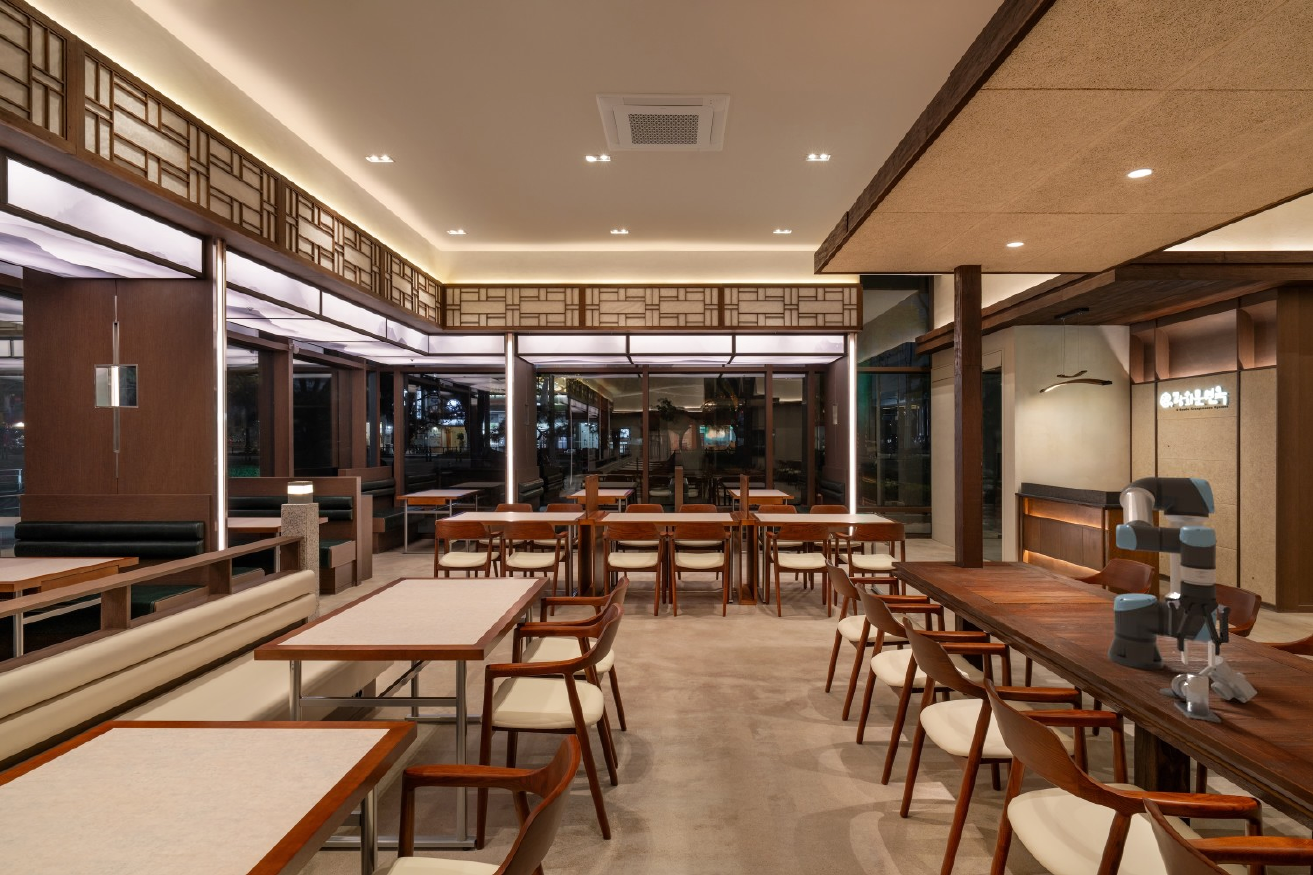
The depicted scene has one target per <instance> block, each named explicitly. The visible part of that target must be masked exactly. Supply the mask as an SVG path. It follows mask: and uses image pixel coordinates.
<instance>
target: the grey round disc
mask: <svg viewBox="0 0 1313 875" xmlns="http://www.w3.org/2000/svg"><path fill="white" fill-rule="evenodd" d="M1159 693H1160V694H1161V695H1162V696H1165V697H1168V698H1172V699H1177V700H1178V699H1179V700H1181V699H1180V698H1178V697H1177V696H1175V695H1174V693H1173V691H1172V688H1159Z"/></svg>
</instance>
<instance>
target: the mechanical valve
mask: <svg viewBox="0 0 1313 875" xmlns="http://www.w3.org/2000/svg"><path fill="white" fill-rule="evenodd" d="M1198 674H1202V675H1205V676H1207V677H1208V678H1211V680H1212V681H1213V682H1212V683H1211V684H1210V687H1211V689H1212V690H1213V691H1214V692H1215V693H1216V694H1217V695H1218V696H1219V697H1221V698H1223V699H1225V700H1227V701H1231V699H1233V698H1235V699H1237V700H1238V701H1239V702H1240V703H1243V704H1245V703H1246V702H1248V701H1249V700H1251V699H1253V697H1255V696H1256V695H1257V694H1258V692H1257V690H1256V689H1254V687H1253V686H1252V685H1251V683H1250V682H1249V681H1247V680H1246V678H1247V677H1246V675H1244V674H1243V673H1242V672H1236V671H1234V670H1233V669H1231V667H1230V665H1229V664H1228V663H1227V662H1226V661H1225V659H1224V658H1223V657H1222V656H1220V655H1219V656H1218V655H1215V668H1212V667H1211V666H1209V665H1207V666H1206V667H1204V668H1203V670H1201V671H1200V672H1199V673H1198ZM1171 689H1172V688H1171ZM1172 691H1173V689H1172ZM1173 693H1174V695H1175V696H1177V697H1178V698H1180V699H1179V700H1185V699H1184V698H1181V697H1180V696H1178V695H1177V694H1176V693H1175V692H1174V691H1173Z"/></svg>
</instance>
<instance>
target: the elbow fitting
mask: <svg viewBox="0 0 1313 875" xmlns="http://www.w3.org/2000/svg"><path fill="white" fill-rule="evenodd" d="M1209 678H1210V677H1209V676H1208V675H1207V676H1205V675H1202V674H1199V673H1198V672H1187V673H1181V674H1177V675H1175V676H1174V677H1173V678H1172V680H1171V683H1170V684H1171V689H1173V691H1174V692H1175V693H1176V694H1177V695H1178V696H1180V697H1181V698H1184V699H1183V700H1186V702H1180V701H1179V702H1178V701H1174V702H1173V705H1174V707H1176V708H1177V709H1178V710H1179V711H1180V712H1181V713H1182V712H1183V713H1182V714H1183V715H1184V716H1185V717H1186V718H1187V719H1190V718H1193V719H1192V720H1197V719H1201V720H1200V721H1205V720H1207V721H1206V722H1212V723H1221V722H1222V721H1221V718H1220V717H1219V716H1217V715H1216V714H1215V713H1214V712H1213V711H1212V710H1210V708H1209V698H1210V696H1209V691H1210V689H1209V687H1210V685H1209V684H1210V683H1209V682H1210V681H1209V680H1210V679H1209Z"/></svg>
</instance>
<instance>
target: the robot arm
mask: <svg viewBox="0 0 1313 875" xmlns="http://www.w3.org/2000/svg"><path fill="white" fill-rule="evenodd" d="M1214 499H1215V498H1214V494H1213V490H1212V487H1211V484H1210V482H1209V481H1208V480H1206V479H1204V478H1197V477H1163V476H1161V477H1158V476H1148V477H1142V478H1139V479H1135V480H1134V481H1131V482H1130V483H1128V484H1127V485H1126V486H1125V487H1123V489H1122V490H1121V492H1120V493H1119V503H1120V506H1121V507H1122V509H1123V510H1122V512H1123V524H1117V525H1116V529H1115V535H1116V536H1115V537H1116V538H1115V540H1116V544H1115V545H1116V547H1118V548H1119V549H1122V550H1123V549H1124V550H1130V551H1143V552H1157V553H1169V567H1170V568H1169V570H1170V571H1169V573H1170V574H1169V575H1170V580H1169V581H1170V582H1169V583H1170V584H1169V585H1170V588H1169V590H1170V591H1169V592H1168V593H1167V594H1166V595H1164V601H1163V600H1158V598H1157V596H1155V595H1153V594H1147V593H1123V594H1122V593H1121V594H1119V595H1117V596H1115V598H1114V601H1113V602H1114V607H1113V611H1114V616H1113V617H1114V619H1113V620H1114V621H1113V622H1114V624H1113V625H1114V626H1113V627H1114V628H1113V629H1114V630H1113V639H1112V640H1111V643H1110V645H1109V648H1108V652H1107V657H1108V659H1109V660H1110V661H1111V662H1113V663H1116V664H1118V665H1121V666H1125V667H1128V668H1134V669H1138V670H1147V671H1148V670H1149V671H1150V670H1151V671H1155V670H1156V671H1157V670H1162V669H1163V668H1164V666H1165V665H1164V658H1163V656H1162V653H1161V650H1160V649H1159V648H1160V647H1159V646H1158V640H1157V638H1158V636H1159V637H1165V638H1172V639H1176V648H1177V650H1178V651H1179V652H1181V659H1180V660H1181V662H1182V663H1183V664H1184V665H1189V641H1191V642H1197V643H1198V642H1200V643H1207V666H1211V667H1212V668H1215V656H1220V655H1221V651H1220V650H1221V649H1220V648H1221V645H1222V644H1229V641H1230V634H1229V631H1230V630H1229V629H1230V628H1229V616H1230V613H1231V611H1232V608H1230V607H1228V606H1227V605H1222V604H1220V603H1218V600H1217V585H1216V584H1215V583H1217V570H1216V569H1217V567H1216V564H1217V563H1216V562H1217V561H1216V560H1217V559H1216V558H1217V543H1218V542H1217V540H1218V539H1217V536H1216V535H1217V534H1216V530H1215V529H1213V527H1208V526H1204V523H1205V522H1206V521H1208V520H1209V518H1210V516H1209V515H1211V514H1214V513H1216V512H1215V510H1216V507H1215V500H1214ZM1153 511H1163V517H1165V519H1167V520H1168V523H1169V527H1165V526H1163V527H1162V526H1155V524H1154V517H1153ZM1217 615H1218V616H1217ZM1217 618H1218V619H1217ZM1217 620H1218V621H1219V634H1218V631H1217V627H1216V626H1217Z"/></svg>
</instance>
